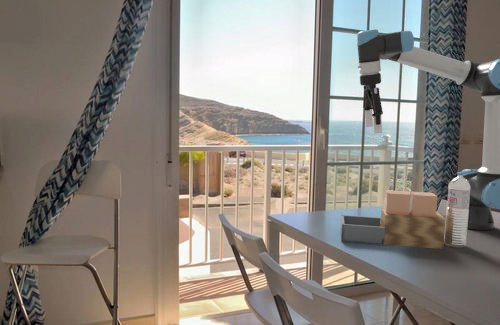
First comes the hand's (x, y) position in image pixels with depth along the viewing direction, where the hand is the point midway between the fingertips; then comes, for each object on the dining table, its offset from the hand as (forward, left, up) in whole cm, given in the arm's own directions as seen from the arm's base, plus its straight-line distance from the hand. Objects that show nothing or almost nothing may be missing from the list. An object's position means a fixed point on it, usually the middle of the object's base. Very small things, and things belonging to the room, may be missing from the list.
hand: (373, 129), depth 162 cm
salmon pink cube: (-16, +17, -24) cm, 34 cm away
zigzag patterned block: (-13, +17, -38) cm, 43 cm away
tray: (+4, +17, -38) cm, 42 cm away
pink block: (-8, +17, -24) cm, 31 cm away
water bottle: (-27, +17, -38) cm, 50 cm away
